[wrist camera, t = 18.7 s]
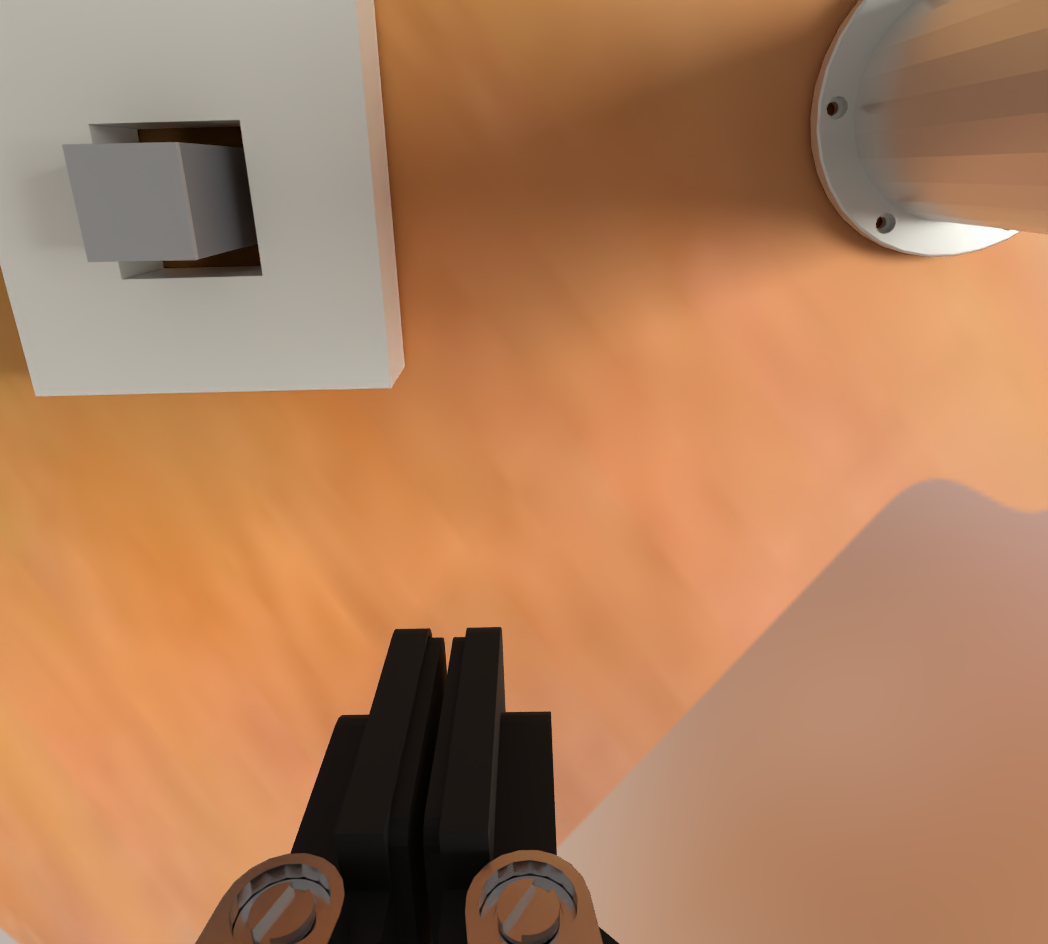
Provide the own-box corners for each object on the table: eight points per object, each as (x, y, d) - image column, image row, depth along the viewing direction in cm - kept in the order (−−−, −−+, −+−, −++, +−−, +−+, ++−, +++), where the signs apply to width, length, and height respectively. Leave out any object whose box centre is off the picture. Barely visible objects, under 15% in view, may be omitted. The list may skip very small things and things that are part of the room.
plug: (252, 148, 34) (175, 141, 27) (265, 241, 36) (195, 260, 28) (163, 150, 34) (61, 144, 27) (180, 243, 36) (87, 262, 28)
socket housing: (372, -10, 32) (352, -34, 28) (404, 366, 38) (391, 388, 34) (-7, 2, 32) (-77, -20, 28) (84, 374, 38) (35, 396, 34)
